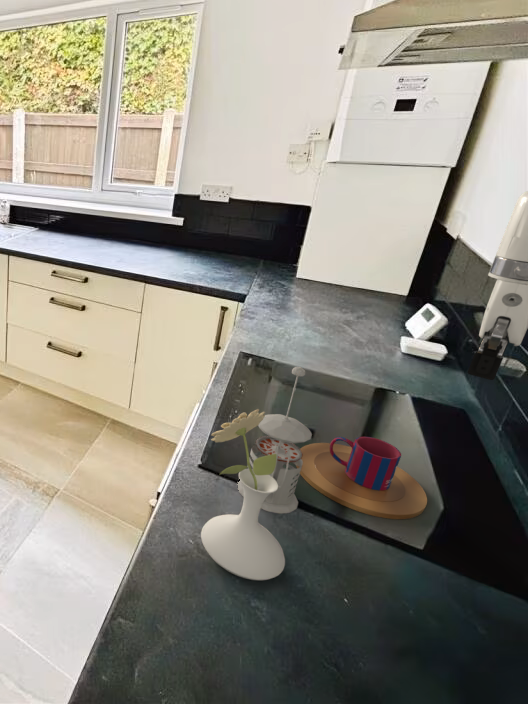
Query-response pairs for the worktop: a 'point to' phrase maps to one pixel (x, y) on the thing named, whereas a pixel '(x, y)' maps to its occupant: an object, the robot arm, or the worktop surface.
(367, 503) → the round wooden plate
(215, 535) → the flower in vase
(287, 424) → the french press
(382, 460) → the mug
